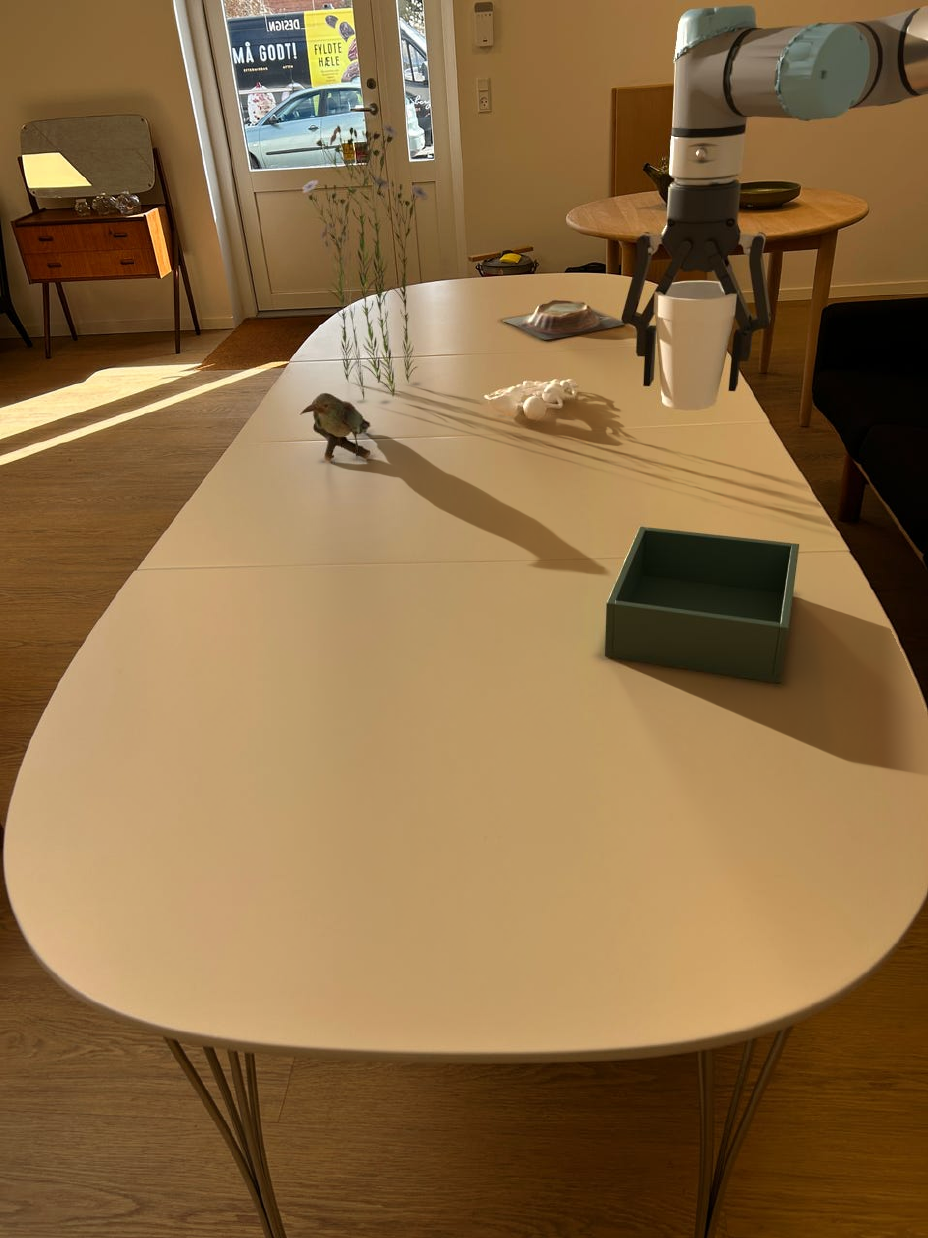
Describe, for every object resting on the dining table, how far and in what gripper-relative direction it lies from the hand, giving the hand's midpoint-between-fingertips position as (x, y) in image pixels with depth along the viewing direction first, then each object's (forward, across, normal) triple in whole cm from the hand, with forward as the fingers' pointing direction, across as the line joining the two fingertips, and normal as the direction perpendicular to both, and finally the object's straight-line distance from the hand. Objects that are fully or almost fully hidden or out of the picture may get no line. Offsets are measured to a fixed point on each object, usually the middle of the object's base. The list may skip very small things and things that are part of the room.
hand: (690, 384), depth 111 cm
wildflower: (+18, -63, +42) cm, 77 cm away
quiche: (+18, -41, +92) cm, 102 cm away
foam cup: (+2, 0, 0) cm, 2 cm away
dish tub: (+19, +6, -22) cm, 30 cm away
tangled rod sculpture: (+19, -33, +40) cm, 55 cm away
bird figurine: (+19, -55, +12) cm, 60 cm away
